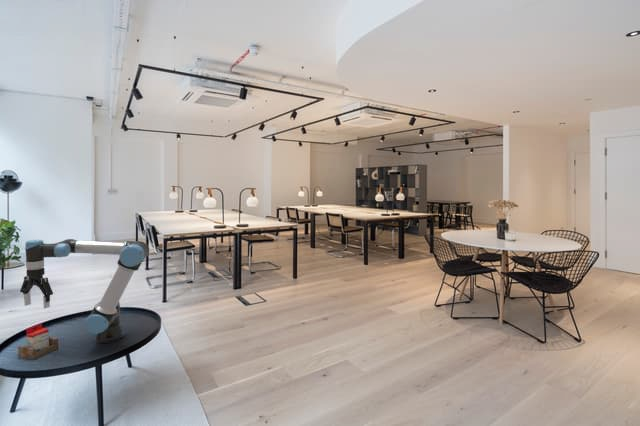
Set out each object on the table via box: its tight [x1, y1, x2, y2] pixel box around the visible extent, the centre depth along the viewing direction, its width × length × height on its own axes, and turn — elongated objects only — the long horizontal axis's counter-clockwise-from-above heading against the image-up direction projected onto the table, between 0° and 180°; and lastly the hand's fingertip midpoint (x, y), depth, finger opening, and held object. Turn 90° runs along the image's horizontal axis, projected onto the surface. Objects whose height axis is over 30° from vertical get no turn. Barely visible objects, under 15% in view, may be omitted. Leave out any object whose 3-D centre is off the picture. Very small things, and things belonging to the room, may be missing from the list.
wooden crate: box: [17, 336, 59, 361], centre depth 187 cm, size 10×13×6 cm
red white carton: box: [26, 323, 50, 353], centre depth 186 cm, size 8×5×15 cm, turn 166°
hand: (37, 306), depth 185 cm, fingers open, 13 cm apart
